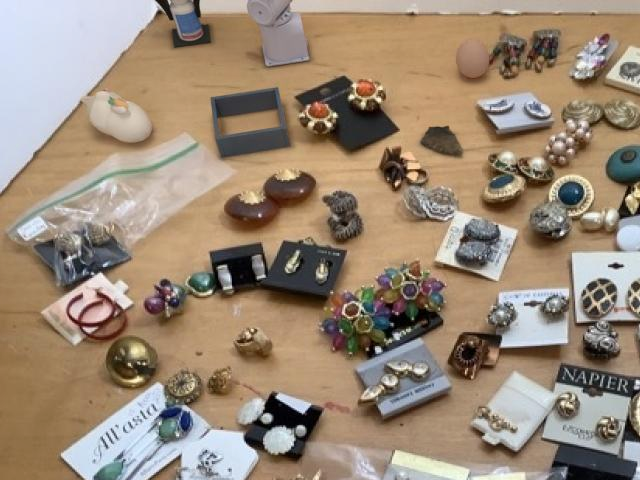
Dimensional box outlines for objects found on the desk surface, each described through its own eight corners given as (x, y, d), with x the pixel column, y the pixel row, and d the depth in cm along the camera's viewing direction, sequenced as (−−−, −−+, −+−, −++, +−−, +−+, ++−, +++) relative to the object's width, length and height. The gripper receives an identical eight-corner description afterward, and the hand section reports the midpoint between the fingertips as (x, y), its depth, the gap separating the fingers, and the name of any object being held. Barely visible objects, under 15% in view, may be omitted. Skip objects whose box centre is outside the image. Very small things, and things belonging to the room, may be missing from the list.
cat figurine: (143, 102, 154) (79, 72, 156) (124, 140, 154) (60, 110, 156) (169, 121, 163) (109, 93, 166) (151, 157, 163) (91, 128, 166)
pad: (208, 25, 186) (208, 24, 185) (210, 42, 182) (210, 41, 182) (172, 30, 184) (172, 29, 184) (174, 47, 181) (173, 46, 180)
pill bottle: (208, 33, 183) (196, -8, 175) (190, 44, 181) (177, 3, 173) (191, 25, 185) (178, -16, 177) (173, 36, 182) (159, -6, 175)
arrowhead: (460, 160, 160) (460, 154, 158) (416, 145, 162) (416, 140, 161) (476, 139, 163) (476, 134, 162) (433, 125, 166) (433, 120, 165)
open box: (282, 105, 169) (278, 86, 165) (290, 146, 161) (286, 127, 158) (216, 115, 167) (210, 97, 163) (221, 157, 159) (215, 139, 156)
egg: (463, 62, 179) (463, 27, 172) (494, 69, 177) (494, 34, 170) (451, 80, 175) (450, 45, 168) (482, 88, 173) (482, 53, 167)
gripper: (128, -32, 165) (151, 30, 176) (201, -39, 167) (219, 22, 178) (130, -49, 169) (151, 12, 180) (201, -56, 171) (218, 5, 182)
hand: (185, 16), depth 179 cm, fingers closed on pill bottle, 5 cm apart
